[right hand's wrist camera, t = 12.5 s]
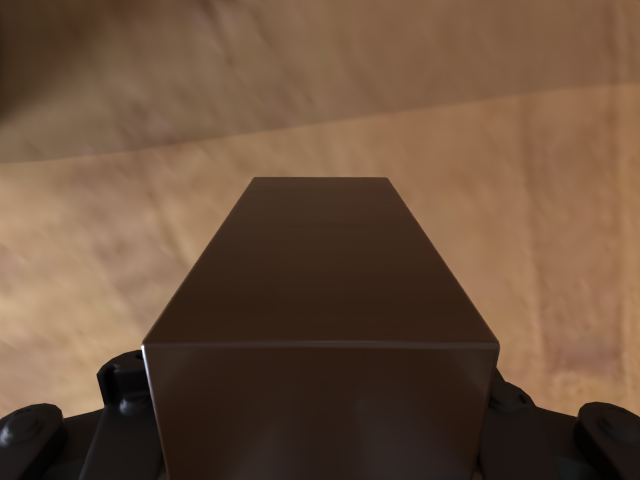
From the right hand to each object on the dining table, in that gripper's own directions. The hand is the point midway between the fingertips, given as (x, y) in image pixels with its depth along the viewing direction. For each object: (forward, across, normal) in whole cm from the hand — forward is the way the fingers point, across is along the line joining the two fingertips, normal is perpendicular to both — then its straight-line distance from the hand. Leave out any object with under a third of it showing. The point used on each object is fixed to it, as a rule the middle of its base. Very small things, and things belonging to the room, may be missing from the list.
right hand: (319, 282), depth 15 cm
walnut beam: (0, 0, -10) cm, 10 cm away
